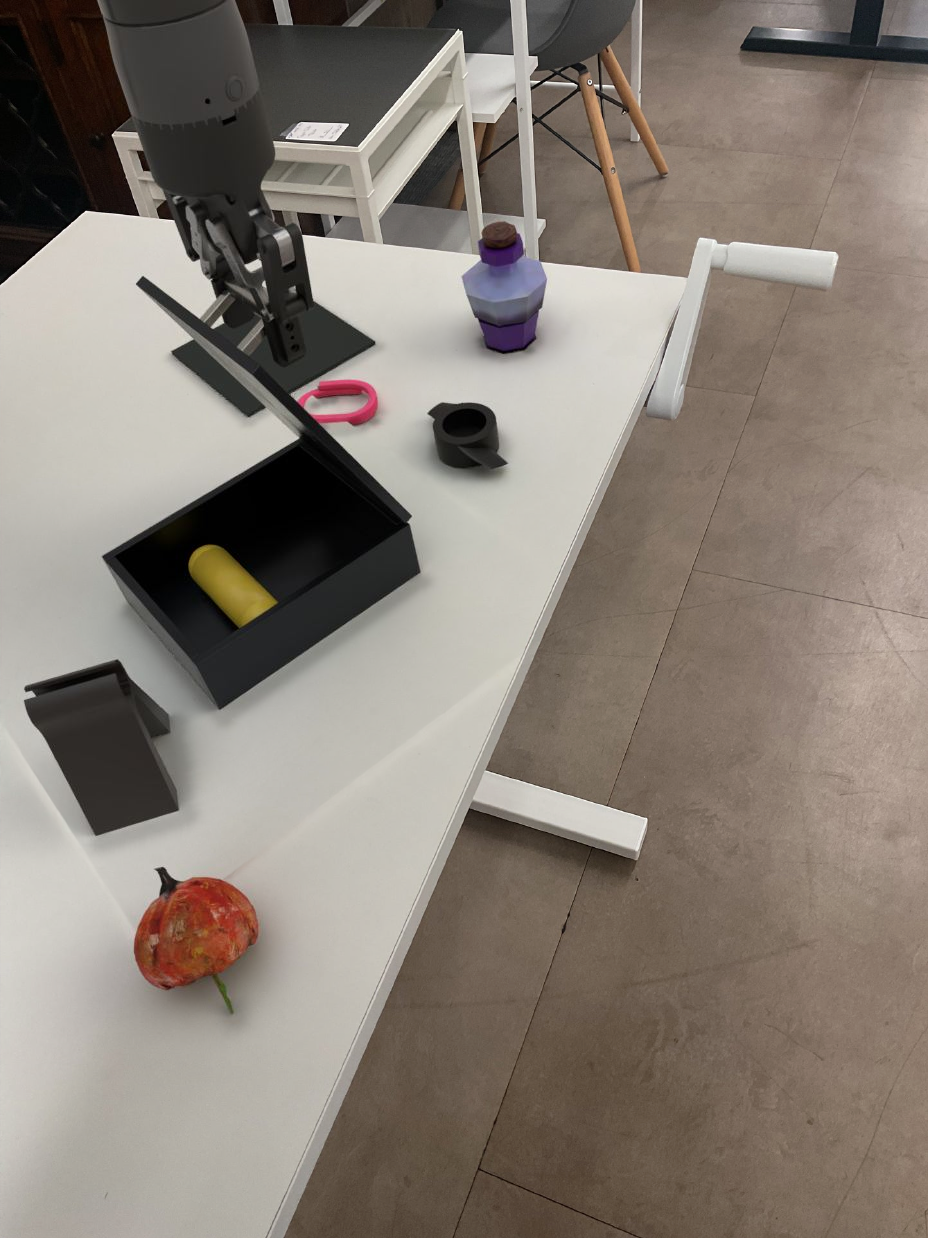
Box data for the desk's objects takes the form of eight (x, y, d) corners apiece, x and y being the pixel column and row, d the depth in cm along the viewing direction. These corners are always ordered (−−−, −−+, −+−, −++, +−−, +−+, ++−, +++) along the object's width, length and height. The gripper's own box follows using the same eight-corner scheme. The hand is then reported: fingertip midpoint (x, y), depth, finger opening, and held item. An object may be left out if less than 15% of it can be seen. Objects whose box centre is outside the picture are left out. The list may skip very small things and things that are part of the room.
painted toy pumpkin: (295, 975, 65) (240, 830, 66) (273, 1014, 58) (212, 851, 58) (187, 1017, 65) (133, 872, 66) (152, 1062, 58) (92, 898, 58)
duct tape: (509, 409, 96) (506, 384, 94) (510, 480, 90) (507, 455, 88) (429, 416, 97) (424, 391, 95) (424, 487, 91) (419, 462, 88)
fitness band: (381, 388, 101) (378, 375, 100) (375, 426, 97) (372, 413, 96) (302, 393, 102) (299, 381, 101) (293, 431, 98) (290, 419, 97)
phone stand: (182, 817, 71) (118, 722, 62) (99, 842, 71) (22, 750, 62) (172, 718, 77) (112, 618, 68) (95, 741, 77) (24, 643, 68)
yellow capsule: (260, 657, 79) (247, 628, 76) (188, 581, 85) (174, 551, 83) (298, 632, 80) (286, 603, 78) (224, 558, 87) (211, 529, 84)
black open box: (222, 715, 77) (196, 666, 72) (130, 606, 85) (100, 555, 81) (422, 578, 84) (410, 524, 79) (317, 490, 92) (301, 436, 87)
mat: (248, 417, 100) (247, 414, 100) (172, 354, 109) (170, 350, 109) (375, 344, 106) (375, 340, 106) (293, 289, 115) (292, 286, 114)
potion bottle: (558, 314, 105) (552, 205, 96) (542, 365, 100) (534, 254, 91) (479, 311, 107) (465, 204, 98) (459, 360, 102) (443, 252, 93)
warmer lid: (251, 374, 61) (309, 307, 61) (134, 283, 70) (185, 225, 70) (406, 523, 78) (451, 471, 78) (296, 436, 87) (337, 388, 87)
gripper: (80, 80, 60) (170, 324, 73) (197, 149, 52) (275, 410, 65) (188, 38, 63) (257, 281, 75) (316, 99, 55) (369, 358, 68)
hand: (265, 340), depth 70 cm, fingers closed on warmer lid, 6 cm apart
